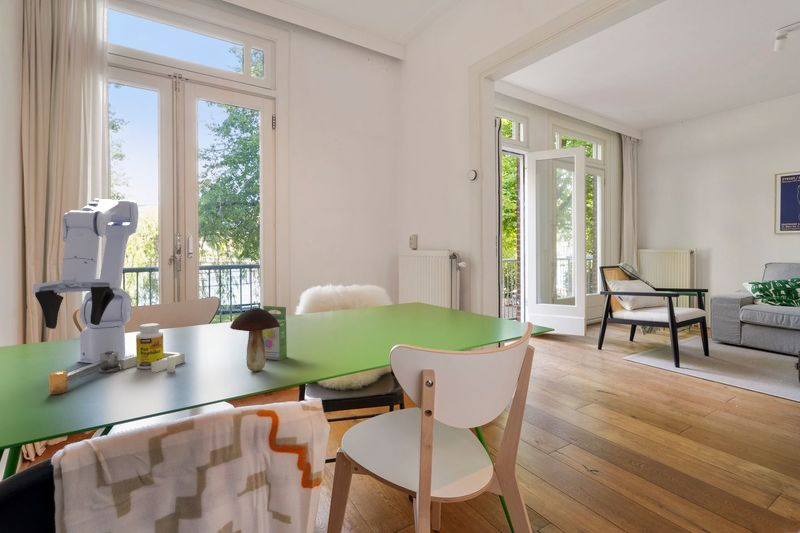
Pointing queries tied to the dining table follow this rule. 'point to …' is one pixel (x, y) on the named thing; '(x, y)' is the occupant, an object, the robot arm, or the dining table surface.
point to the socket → (155, 365)
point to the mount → (109, 370)
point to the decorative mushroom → (255, 334)
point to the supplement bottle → (149, 345)
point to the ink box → (276, 336)
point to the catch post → (171, 364)
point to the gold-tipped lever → (81, 372)
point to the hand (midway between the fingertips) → (73, 326)
